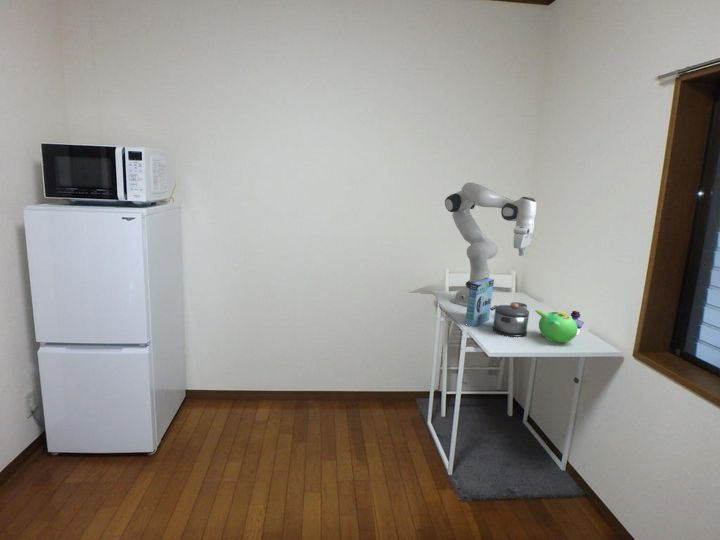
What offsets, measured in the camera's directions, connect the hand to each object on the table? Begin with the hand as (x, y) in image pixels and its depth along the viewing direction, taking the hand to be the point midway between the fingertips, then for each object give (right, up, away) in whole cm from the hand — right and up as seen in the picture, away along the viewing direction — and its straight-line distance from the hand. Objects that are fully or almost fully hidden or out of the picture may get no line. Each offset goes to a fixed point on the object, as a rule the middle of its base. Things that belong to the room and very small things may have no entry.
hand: (520, 255), depth 230 cm
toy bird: (+11, -42, -15) cm, 46 cm away
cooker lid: (-9, -29, -8) cm, 31 cm away
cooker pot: (-8, -39, -6) cm, 40 cm away
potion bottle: (+25, -40, -4) cm, 48 cm away
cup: (+2, -36, +11) cm, 38 cm away
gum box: (-21, -36, +6) cm, 42 cm away
